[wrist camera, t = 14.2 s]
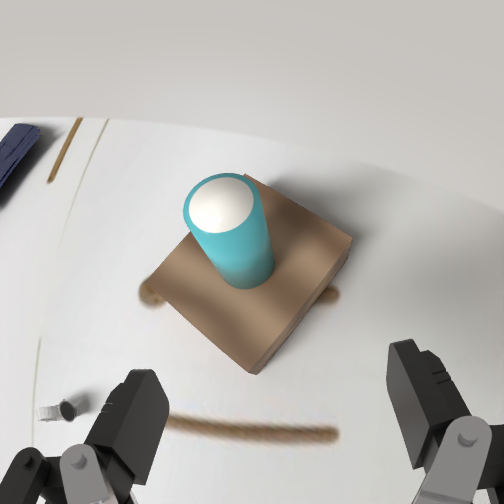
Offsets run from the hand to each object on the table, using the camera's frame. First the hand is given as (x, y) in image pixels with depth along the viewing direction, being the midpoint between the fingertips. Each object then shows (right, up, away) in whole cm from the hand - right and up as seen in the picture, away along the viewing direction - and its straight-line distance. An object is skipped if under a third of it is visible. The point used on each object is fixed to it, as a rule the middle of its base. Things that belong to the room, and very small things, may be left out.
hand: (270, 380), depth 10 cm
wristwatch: (-24, -16, +22) cm, 36 cm away
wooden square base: (0, +1, +26) cm, 26 cm away
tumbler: (-1, +3, +21) cm, 21 cm away
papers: (-61, +24, +47) cm, 81 cm away
